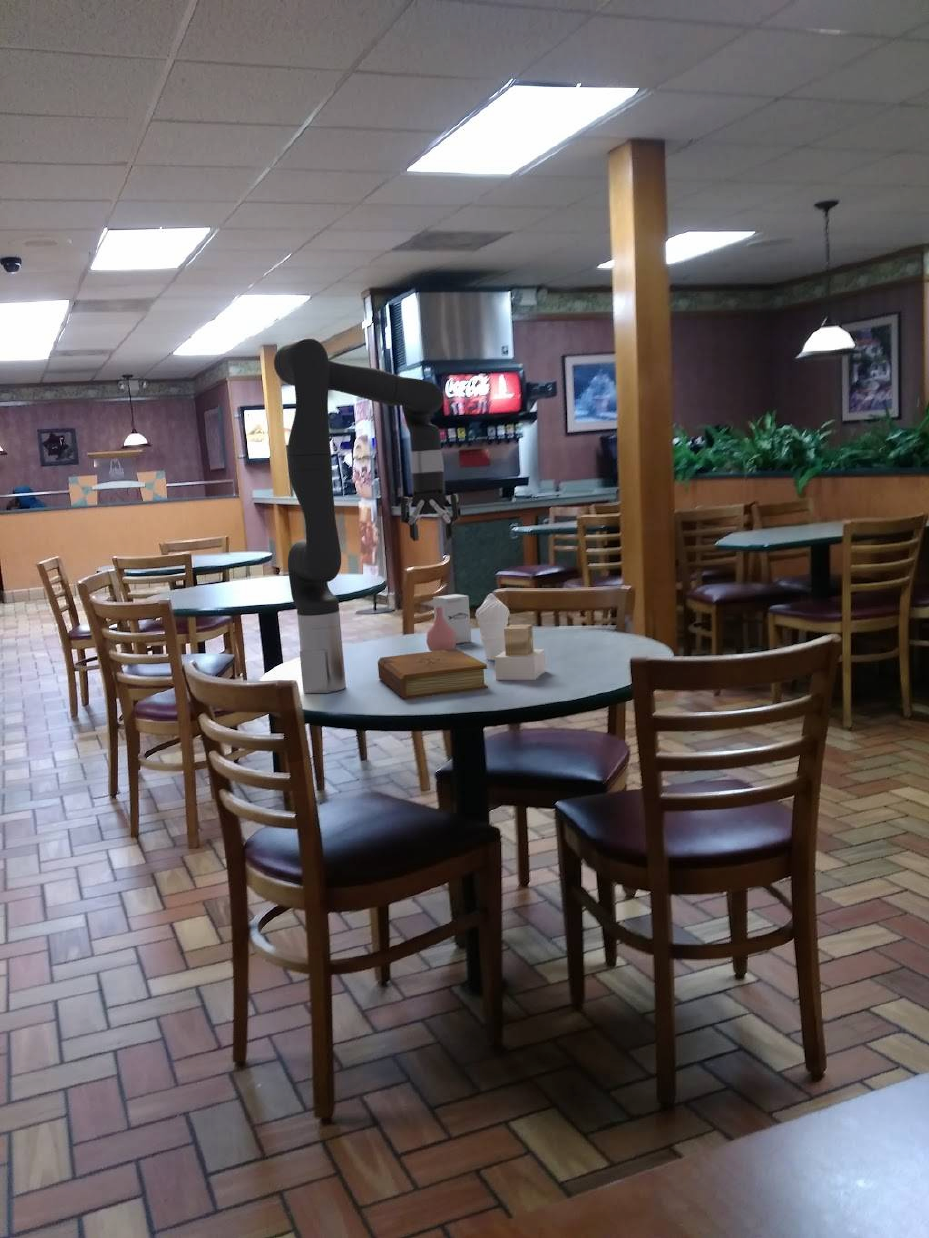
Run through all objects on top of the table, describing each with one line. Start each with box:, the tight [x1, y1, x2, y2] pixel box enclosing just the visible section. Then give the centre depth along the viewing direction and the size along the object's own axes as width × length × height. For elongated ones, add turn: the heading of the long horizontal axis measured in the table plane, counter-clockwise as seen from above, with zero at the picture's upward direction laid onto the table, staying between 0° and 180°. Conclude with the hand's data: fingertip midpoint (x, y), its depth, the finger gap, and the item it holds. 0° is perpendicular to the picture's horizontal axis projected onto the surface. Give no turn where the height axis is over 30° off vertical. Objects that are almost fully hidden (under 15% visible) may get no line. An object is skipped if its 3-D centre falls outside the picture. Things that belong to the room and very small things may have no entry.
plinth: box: [494, 648, 547, 681], centre depth 227 cm, size 9×9×5 cm
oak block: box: [504, 624, 535, 655], centre depth 226 cm, size 5×5×6 cm
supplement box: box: [432, 593, 472, 644], centre depth 276 cm, size 7×7×13 cm
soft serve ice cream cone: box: [475, 593, 510, 661], centre depth 248 cm, size 8×8×16 cm
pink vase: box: [426, 607, 457, 652], centre depth 259 cm, size 8×8×12 cm
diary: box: [377, 648, 489, 700], centre depth 224 cm, size 23×19×6 cm
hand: (432, 540), depth 241 cm, fingers open, 8 cm apart
